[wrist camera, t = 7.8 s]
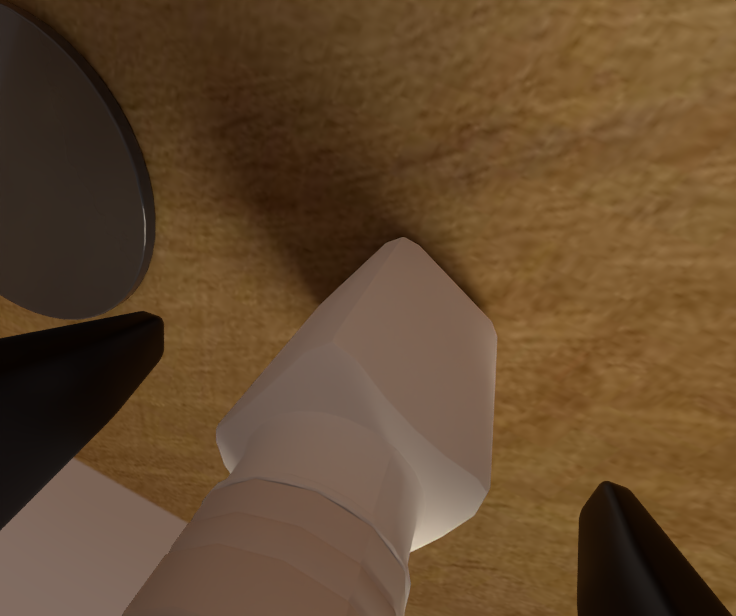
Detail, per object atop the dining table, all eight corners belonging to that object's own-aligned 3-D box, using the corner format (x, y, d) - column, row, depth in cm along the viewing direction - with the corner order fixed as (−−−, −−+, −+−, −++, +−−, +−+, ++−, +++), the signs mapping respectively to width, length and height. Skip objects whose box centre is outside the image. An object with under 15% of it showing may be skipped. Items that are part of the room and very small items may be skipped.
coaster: (176, 337, 16) (167, 344, 16) (-41, 288, 18) (-54, 293, 18) (123, -1, 11) (107, -5, 11) (-160, -14, 13) (-182, -17, 13)
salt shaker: (315, 307, 14) (31, 636, 6) (407, 220, 12) (176, 534, 4) (404, 395, 14) (266, 813, 6) (507, 326, 12) (504, 809, 4)
